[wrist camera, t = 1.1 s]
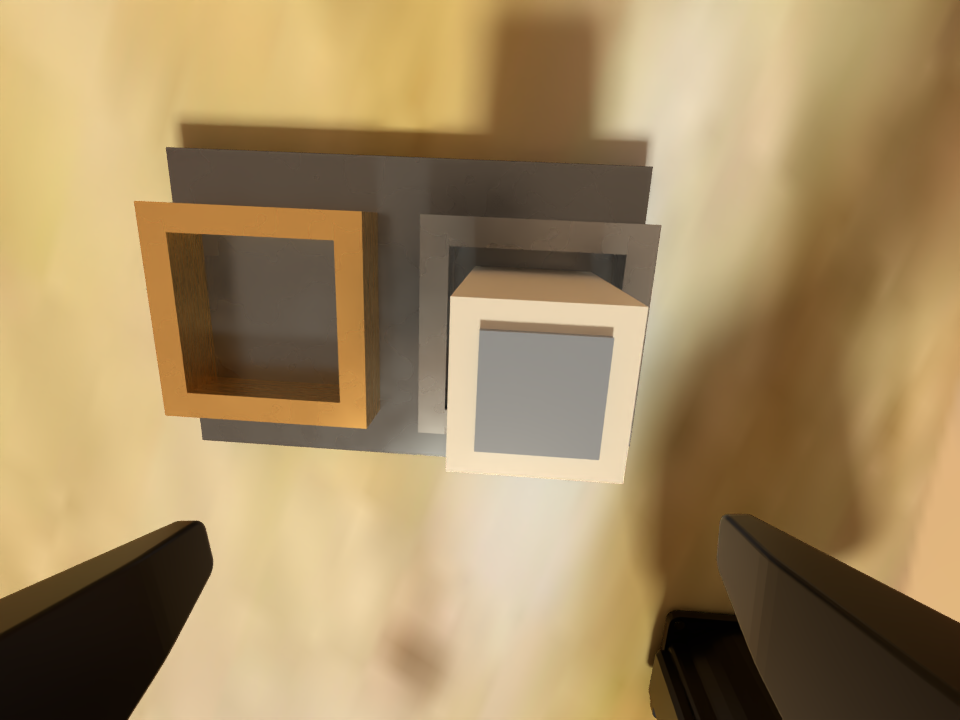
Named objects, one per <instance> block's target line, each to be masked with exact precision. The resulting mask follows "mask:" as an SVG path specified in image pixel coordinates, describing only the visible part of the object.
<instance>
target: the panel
mask: <svg viewBox="0 0 960 720" xmlns="http://www.w3.org/2000/svg"><path fill="white" fill-rule="evenodd" d="M166 152H167V160H168V168H169V176H170V184H171V192H172V200H173V203H167V202H145V201H134V205H135V212H136V218H137V225H138V232H139V239H140V246H141V252H142V259H143V266H144V273H145V279H146V286H147V293H148V300H149V307H150V313H151V320H152V327H153V334H154V340H155V347H156V354H157V361H158V368H159V374H160V381H161V388H162V395H163V401H164V408H165V415H167V416H182V417H197V418H200V422H201V429H202V437H203V440H212V441H226V442H241V443H255V444H269V445H284V446H298V447H313V448H327V449H341V450H356V451H370V452H385V453H399V454H414V455H428V456H442V457H446V439H447V402H448V366H449V329H450V296H451V295H452V294H453V293H454V291H455V290H456V289H457V288H458V286H459V285H460V284H461V283H462V282H463V280H464V279H465V278H466V277H467V276H468V274H469V273H470V272H471V271H472V270H473V268H474V267H475V266H486V267H506V268H526V269H546V270H566V271H585V272H592V273H593V274H595V275H597V276H598V277H600V278H602V279H603V280H605V281H607V282H608V283H610V284H612V285H613V286H615V287H616V288H618V289H620V290H621V291H623V292H625V293H626V294H628V295H630V296H631V297H633V298H635V299H636V300H638V301H639V302H641V303H643V304H644V305H646V306H648V314H647V321H646V328H645V335H644V342H643V349H642V356H641V363H640V370H639V377H638V384H637V391H636V398H635V405H634V412H635V406H636V399H637V392H638V385H639V378H640V371H641V364H642V357H643V350H644V343H645V336H646V329H647V322H648V315H649V308H650V301H651V294H652V287H653V280H654V273H655V266H656V259H657V252H658V245H659V238H660V231H661V225H648V224H645V221H646V214H647V207H648V199H649V192H650V184H651V177H652V169H653V167H645V166H620V165H595V164H570V163H545V162H521V161H496V160H471V159H446V158H421V157H396V156H371V155H346V154H321V153H296V152H272V151H247V150H222V149H197V148H172V147H166ZM634 412H633V419H634ZM633 419H632V426H633ZM632 426H631V433H632ZM631 433H630V440H631ZM630 440H629V447H630Z"/></svg>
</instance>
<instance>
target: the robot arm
mask: <svg viewBox="0 0 960 720" xmlns="http://www.w3.org/2000/svg"><path fill="white" fill-rule="evenodd" d="M717 565H718V570H719V573H720V576H721V578H722V581H723V583H724V586H725V589H726V591H727V594H728V596H729V599H730V601H731V604H732V607H733V609H734V612H735V614H736V615H728V614H716V613H704V612H692V611H680V610H677V611H672V612H670V613H669V614H668V615H667V618H666V623H665V628H664V633H663V639H662V644H661V649H660V650H658V651H657V653H656V654H655V658H654V664H653V669H652V675H651V680H650V685H649V694H650V698H651V703H650V707H651V710H652V714H653V716H654V717H655V718H657V720H960V623H959V622H957V621H955V620H953V619H951V618H949V617H947V616H945V615H943V614H941V613H939V612H938V611H936V610H934V609H932V608H930V607H928V606H926V605H924V604H922V603H920V602H918V601H916V600H914V599H912V598H910V597H909V596H907V595H905V594H903V593H901V592H899V591H897V590H895V589H893V588H891V587H889V586H887V585H885V584H883V583H881V582H880V581H878V580H876V579H874V578H872V577H870V576H868V575H866V574H864V573H862V572H860V571H858V570H856V569H854V568H852V567H851V566H849V565H847V564H845V563H843V562H841V561H839V560H837V559H835V558H833V557H831V556H829V555H827V554H825V553H823V552H821V551H820V550H818V549H816V548H814V547H812V546H810V545H808V544H806V543H804V542H802V541H800V540H798V539H796V538H794V537H793V536H791V535H789V534H787V533H785V532H783V531H781V530H779V529H777V528H775V527H773V526H771V525H769V524H767V523H765V522H764V521H762V520H760V519H758V518H756V517H754V516H752V515H750V514H725V515H724V516H723V517H722V518H721V520H720V526H719V537H718V548H717ZM212 568H213V557H212V552H211V548H210V544H209V540H208V536H207V532H206V528H205V526H204V524H203V523H202V522H200V521H177V522H174V523H172V524H169V525H167V526H165V527H163V528H160V529H158V530H156V531H153V532H151V533H149V534H147V535H144V536H142V537H140V538H138V539H135V540H133V541H131V542H128V543H126V544H124V545H122V546H119V547H117V548H115V549H113V550H110V551H108V552H106V553H104V554H101V555H99V556H97V557H94V558H92V559H90V560H88V561H85V562H83V563H81V564H79V565H76V566H74V567H72V568H69V569H67V570H65V571H63V572H60V573H58V574H56V575H54V576H51V577H49V578H47V579H45V580H42V581H40V582H38V583H35V584H33V585H31V586H29V587H26V588H24V589H22V590H20V591H17V592H15V593H13V594H11V595H8V596H6V597H4V598H1V599H0V720H128V719H129V717H130V716H131V714H132V713H133V711H134V709H135V708H136V706H137V705H138V703H139V702H140V700H141V698H142V697H143V695H144V694H145V692H146V691H147V689H148V687H149V686H150V684H151V683H152V681H153V679H154V678H155V676H156V675H157V673H158V672H159V670H160V668H161V667H162V665H163V663H164V662H165V660H166V658H167V656H168V655H169V653H170V651H171V649H172V647H173V646H174V644H175V642H176V640H177V638H178V636H179V634H180V632H181V630H182V628H183V627H184V625H185V623H186V621H187V619H188V617H189V615H190V613H191V611H192V609H193V607H194V605H195V604H196V602H197V600H198V598H199V596H200V594H201V592H202V590H203V588H204V586H205V584H206V583H207V581H208V579H209V577H210V575H211V572H212ZM677 621H681V622H679V623H676V622H677Z"/></svg>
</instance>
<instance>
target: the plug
mask: <svg viewBox="0 0 960 720" xmlns="http://www.w3.org/2000/svg"><path fill="white" fill-rule="evenodd" d="M647 314H648V306H646V305H644V304H643V303H641V302H639V301H638V300H636V299H635V298H633V297H631V296H630V295H628V294H626V293H625V292H623V291H621V290H620V289H618V288H616V287H615V286H613V285H612V284H610V283H608V282H607V281H605V280H603V279H602V278H600V277H598V276H597V275H595V274H593V273H592V272H585V271H566V270H546V269H526V268H506V267H486V266H475V267H474V268H473V270H472V271H471V272H470V273H469V274H468V276H467V277H466V278H465V279H464V280H463V282H462V283H461V284H460V285H459V286H458V288H457V289H456V290H455V291H454V293H453V294H452V295H451V296H450V329H449V366H448V402H447V439H446V471H447V472H462V473H476V474H490V475H504V476H518V477H532V478H546V479H560V480H574V481H589V482H603V483H617V484H623V482H624V475H625V468H626V461H627V454H628V447H629V440H630V433H631V426H632V419H633V412H634V405H635V398H636V391H637V384H638V377H639V370H640V363H641V356H642V349H643V342H644V335H645V328H646V321H647Z"/></svg>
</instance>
